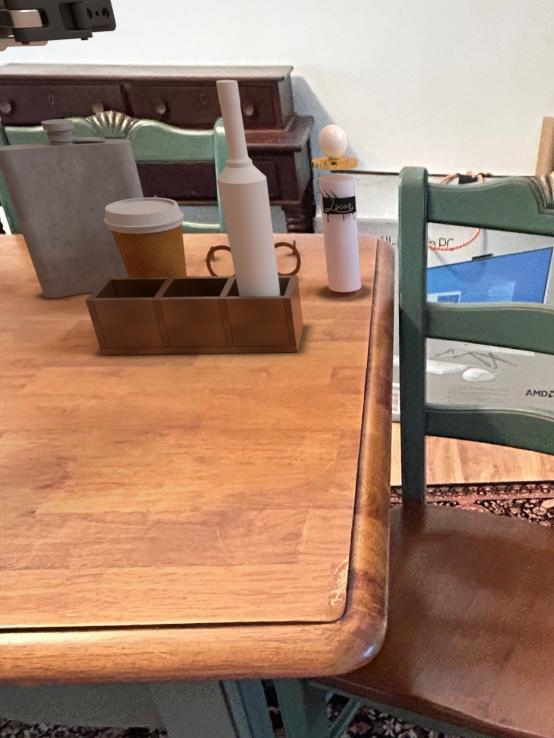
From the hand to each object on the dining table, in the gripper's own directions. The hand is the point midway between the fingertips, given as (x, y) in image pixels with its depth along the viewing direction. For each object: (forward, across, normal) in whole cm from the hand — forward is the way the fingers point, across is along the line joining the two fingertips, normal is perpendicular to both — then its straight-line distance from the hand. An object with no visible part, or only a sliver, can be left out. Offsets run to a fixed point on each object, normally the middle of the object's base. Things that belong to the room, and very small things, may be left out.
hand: (69, 10), depth 57 cm
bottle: (+17, 0, +31) cm, 36 cm away
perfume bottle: (+36, +1, +32) cm, 49 cm away
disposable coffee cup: (+21, +20, +32) cm, 43 cm away
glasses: (+39, +19, +32) cm, 54 cm away
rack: (+14, +7, +32) cm, 36 cm away
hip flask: (+22, +32, +32) cm, 51 cm away
